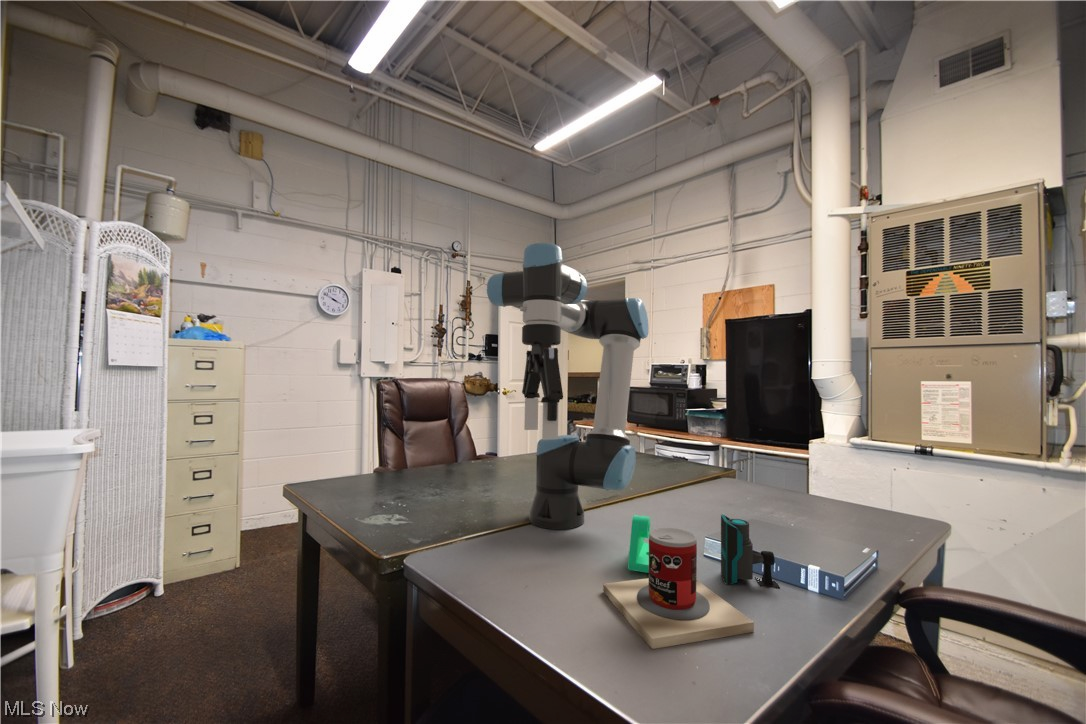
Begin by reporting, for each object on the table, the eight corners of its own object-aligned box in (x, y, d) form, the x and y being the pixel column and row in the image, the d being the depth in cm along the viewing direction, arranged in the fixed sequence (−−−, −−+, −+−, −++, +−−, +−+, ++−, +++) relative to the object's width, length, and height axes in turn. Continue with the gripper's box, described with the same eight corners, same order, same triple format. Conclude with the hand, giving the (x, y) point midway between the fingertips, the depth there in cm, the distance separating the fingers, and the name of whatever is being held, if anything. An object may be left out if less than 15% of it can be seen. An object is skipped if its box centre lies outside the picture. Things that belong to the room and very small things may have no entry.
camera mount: (667, 581, 89) (667, 528, 89) (628, 574, 92) (628, 523, 92) (672, 558, 100) (672, 511, 101) (637, 553, 103) (637, 507, 103)
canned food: (639, 593, 80) (640, 530, 80) (675, 585, 83) (676, 525, 83) (667, 615, 73) (668, 546, 73) (706, 605, 76) (706, 539, 76)
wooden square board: (603, 591, 84) (603, 582, 84) (687, 581, 89) (687, 571, 89) (652, 649, 67) (652, 636, 67) (753, 631, 72) (753, 620, 72)
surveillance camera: (781, 526, 86) (725, 522, 88) (781, 591, 86) (725, 585, 88) (772, 517, 91) (720, 513, 93) (773, 577, 91) (720, 572, 93)
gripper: (509, 329, 99) (507, 426, 98) (540, 316, 75) (538, 444, 74) (542, 330, 101) (541, 426, 101) (582, 318, 77) (580, 443, 77)
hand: (539, 434), depth 87 cm, fingers open, 13 cm apart
